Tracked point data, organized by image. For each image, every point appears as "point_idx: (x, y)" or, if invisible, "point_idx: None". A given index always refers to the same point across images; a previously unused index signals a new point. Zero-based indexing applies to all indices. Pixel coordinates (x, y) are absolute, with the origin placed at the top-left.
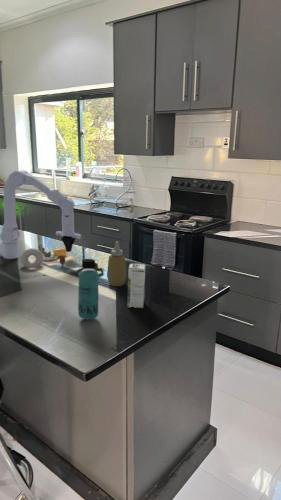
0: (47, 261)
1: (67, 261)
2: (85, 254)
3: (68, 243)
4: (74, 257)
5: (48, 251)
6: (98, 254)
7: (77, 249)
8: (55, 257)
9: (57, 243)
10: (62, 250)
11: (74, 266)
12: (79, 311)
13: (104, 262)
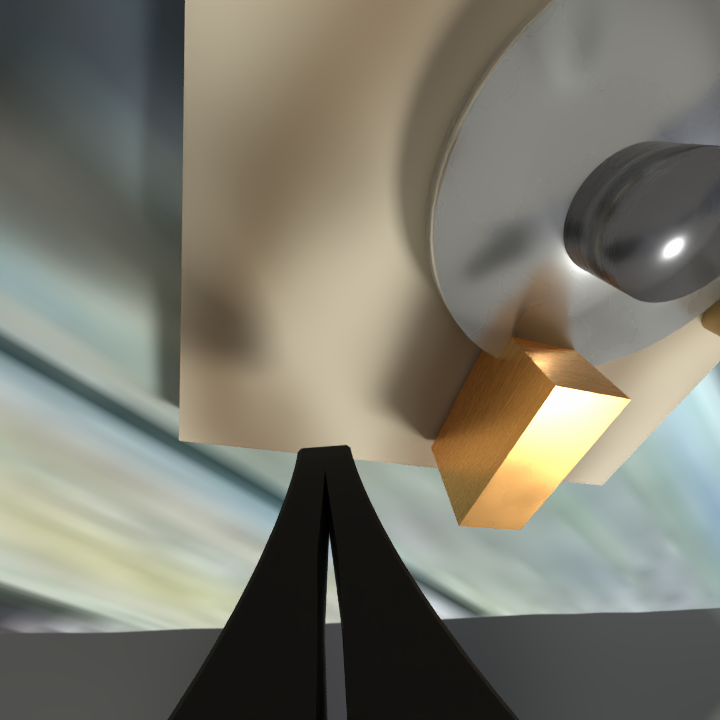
0: (509, 29)
1: (212, 277)
2: None
3: (212, 649)
4: None
5: (686, 288)
6: None
7: (502, 589)
8: (443, 232)
9: (698, 588)
10: (481, 465)
11: (59, 247)
12: None
13: (26, 530)
